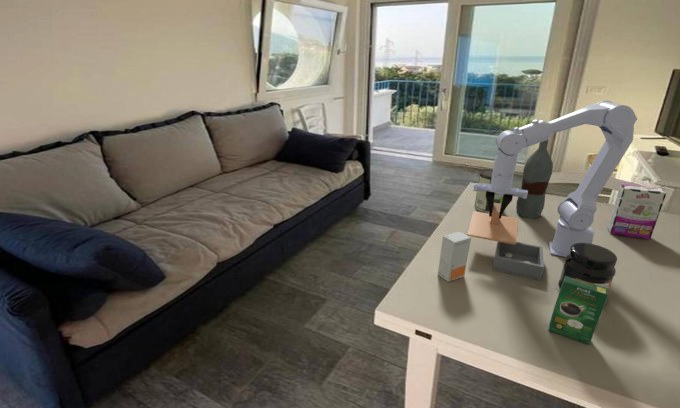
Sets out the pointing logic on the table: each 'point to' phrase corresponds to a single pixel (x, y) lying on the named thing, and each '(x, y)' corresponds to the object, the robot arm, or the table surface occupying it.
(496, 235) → the lid
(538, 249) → the tub
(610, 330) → the table surface
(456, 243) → the skincare box
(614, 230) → the candy bar box
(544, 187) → the bottle
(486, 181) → the coffee can
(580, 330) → the coffee box
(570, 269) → the supplement container
